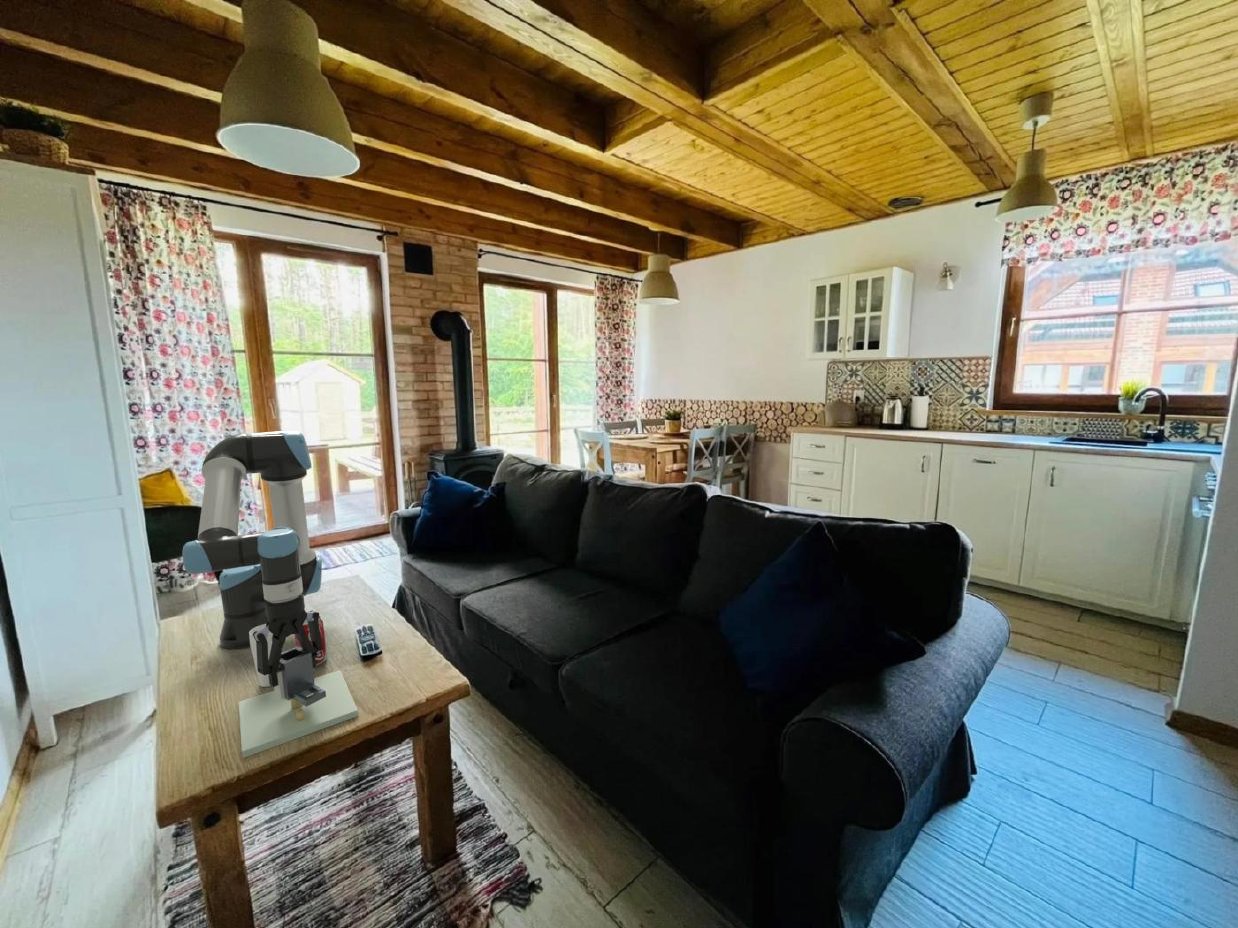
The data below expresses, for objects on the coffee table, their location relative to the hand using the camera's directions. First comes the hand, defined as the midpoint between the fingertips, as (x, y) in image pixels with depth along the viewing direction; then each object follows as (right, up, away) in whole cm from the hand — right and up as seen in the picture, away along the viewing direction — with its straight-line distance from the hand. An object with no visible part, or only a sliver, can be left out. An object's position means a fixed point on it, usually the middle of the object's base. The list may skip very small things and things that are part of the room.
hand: (295, 689), depth 121 cm
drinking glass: (-15, -4, +13) cm, 20 cm away
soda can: (-9, -3, +23) cm, 25 cm away
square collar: (+3, 0, -1) cm, 3 cm away
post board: (0, -6, +1) cm, 6 cm away
